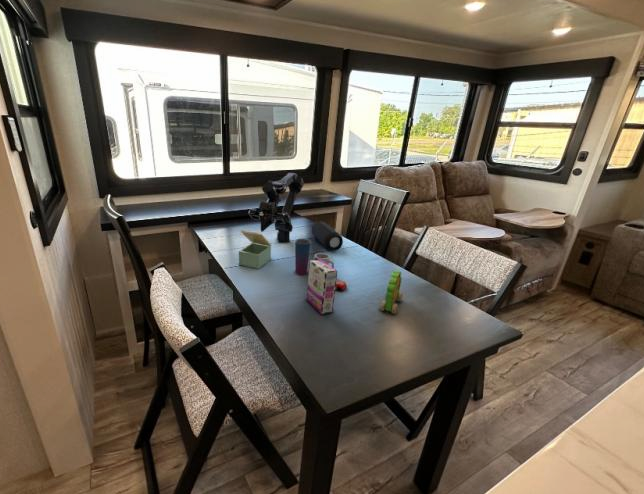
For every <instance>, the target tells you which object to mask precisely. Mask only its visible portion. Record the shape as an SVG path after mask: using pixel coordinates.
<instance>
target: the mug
mask: <svg viewBox="0 0 644 494" xmlns="http://www.w3.org/2000/svg"><path fill="white" fill-rule="evenodd" d="M318 259H321V260H323V261H324V262H325V263H327V264H328V265H330V264H331V267H333V268H334V269H335V262H334V261H333V260H332V259H330V255H329V254H327V253H324V252H318V253H315V254H314V257H313V260H318Z"/></svg>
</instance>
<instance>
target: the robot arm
mask: <svg viewBox="0 0 644 494" xmlns="http://www.w3.org/2000/svg"><path fill="white" fill-rule="evenodd" d="M304 184H305V182H304V180H303V178H302V177H301V176H299V175H298V174H297V173H295V172H287V173H286V175H285V176H283V177H282V178H281V179H279V180H275V181H273V180H268V182H266V183H264V184H263V185H262V187H261V191H262V192H263V194H264V197H266V199H267V201H259V204H258V209H260V211H259V210H258V209H253V208H250V209H249V210H248V215H249V217H250V218H251V219H252V220H257V221H258V220H259V221H260V232H261V233H263V232H264V231H266V230H267V229H268V228H269V227H270V226H271V225H273V224H274V230H275V231H276V240H277V242H278V243H290V242H291V240H290V234H291V232H293V228H294V226H293V223H292V220H291V213H292V210H293V207H294V205H295V201H296V198H297V195H298V194H299V193H300V192H301V191H302V189H303V188H304V186H305V185H304ZM287 188H288V193H287V196H286V198H285V202H284V205H283V208H282V211H281V212H277V211H278V205H279V203H280V202H281V201H282V199H281V196H280V195H282V196H283V195H284V194H285V193H286V192H287Z"/></svg>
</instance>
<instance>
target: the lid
mask: <svg viewBox="0 0 644 494" xmlns="http://www.w3.org/2000/svg"><path fill="white" fill-rule="evenodd" d="M240 233H241V234H242V235H243V236H244V238H246V239H247V240H248V241H249V242H250V243H256V244H261V245H266V246H271V247H272V244H271V243H270V242H269V240H268V239H267V238H266V237H265V236H264V234H262V233H258V232H252V231H247V230H240Z"/></svg>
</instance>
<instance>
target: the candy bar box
mask: <svg viewBox="0 0 644 494" xmlns="http://www.w3.org/2000/svg"><path fill="white" fill-rule="evenodd" d="M337 277H338V270H337V269H335V267H334V268H333V267H332V265H330V264H329V265H328V264H327V263H325V262H324V261H323V260H321V259H318V260H314V259H312V260H309V263H308V277H307V278H308V279H307V289H306V290H307V292H306V301H307V302H309V304H311V306H312V307H313V308H314V309H316V311H318V312H319V313H320V315H325V314H329V313H333V311H334V302H335V295H336V289H335V287H336V279H338V278H337Z"/></svg>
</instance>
